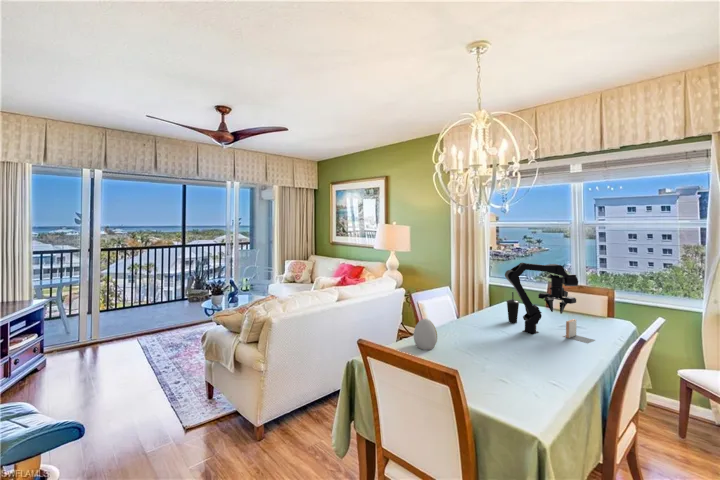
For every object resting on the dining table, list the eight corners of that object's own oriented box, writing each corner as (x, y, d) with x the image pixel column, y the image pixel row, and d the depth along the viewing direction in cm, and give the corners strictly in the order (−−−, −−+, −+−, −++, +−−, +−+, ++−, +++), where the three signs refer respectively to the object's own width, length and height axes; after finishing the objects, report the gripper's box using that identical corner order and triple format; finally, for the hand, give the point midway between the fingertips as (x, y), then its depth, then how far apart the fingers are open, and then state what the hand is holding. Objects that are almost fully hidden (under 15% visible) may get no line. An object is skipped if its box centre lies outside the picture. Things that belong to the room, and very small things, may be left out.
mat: (587, 344, 174) (587, 343, 174) (562, 337, 186) (562, 336, 186) (596, 340, 179) (596, 340, 179) (570, 334, 190) (570, 333, 190)
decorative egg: (442, 347, 173) (442, 318, 173) (427, 353, 165) (427, 323, 165) (423, 341, 183) (423, 314, 182) (408, 347, 174) (408, 318, 174)
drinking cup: (512, 324, 210) (512, 293, 210) (503, 321, 218) (503, 291, 217) (522, 323, 212) (522, 292, 212) (513, 320, 220) (513, 290, 219)
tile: (569, 338, 183) (569, 322, 182) (566, 337, 184) (566, 321, 184) (576, 335, 187) (576, 319, 187) (573, 334, 188) (573, 319, 188)
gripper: (581, 286, 188) (581, 314, 188) (548, 282, 204) (548, 307, 204) (571, 289, 182) (570, 317, 183) (537, 284, 198) (537, 310, 198)
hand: (556, 312), depth 192 cm, fingers open, 5 cm apart
